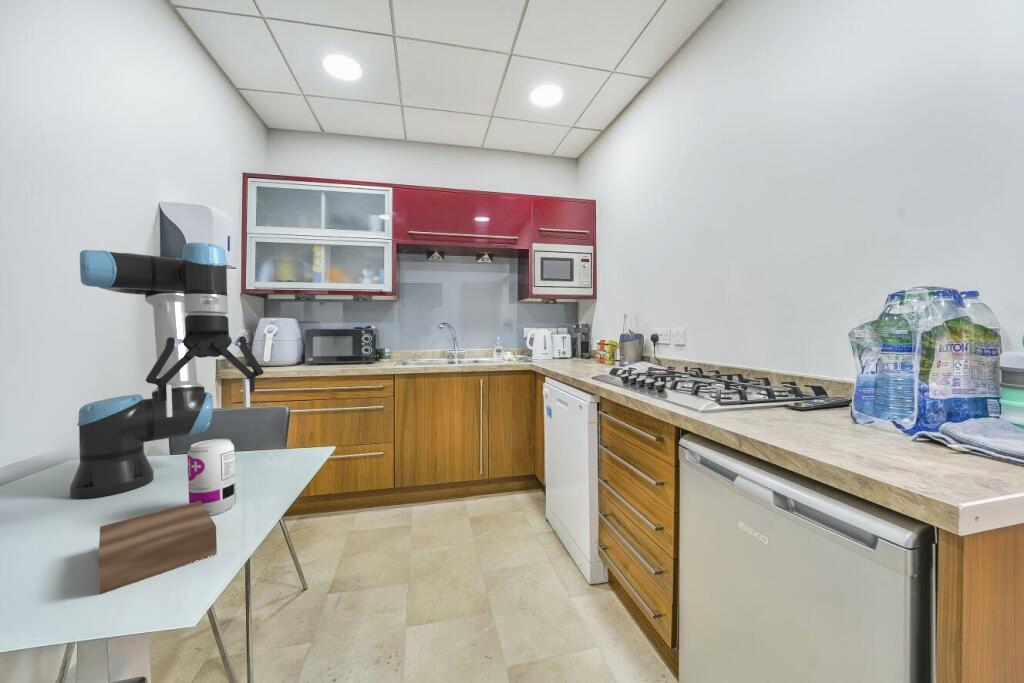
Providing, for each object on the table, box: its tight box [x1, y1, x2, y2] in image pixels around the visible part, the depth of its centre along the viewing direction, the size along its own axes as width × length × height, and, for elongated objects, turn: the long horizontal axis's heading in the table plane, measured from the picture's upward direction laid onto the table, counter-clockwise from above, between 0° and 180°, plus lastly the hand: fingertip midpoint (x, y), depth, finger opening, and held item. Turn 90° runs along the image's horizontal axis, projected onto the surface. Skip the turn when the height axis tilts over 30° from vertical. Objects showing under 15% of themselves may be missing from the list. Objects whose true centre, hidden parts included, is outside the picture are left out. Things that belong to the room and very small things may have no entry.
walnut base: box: [98, 501, 218, 595], centre depth 68 cm, size 16×14×5 cm
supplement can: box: [186, 438, 237, 517], centre depth 85 cm, size 8×8×15 cm
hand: (210, 411), depth 85 cm, fingers open, 13 cm apart
